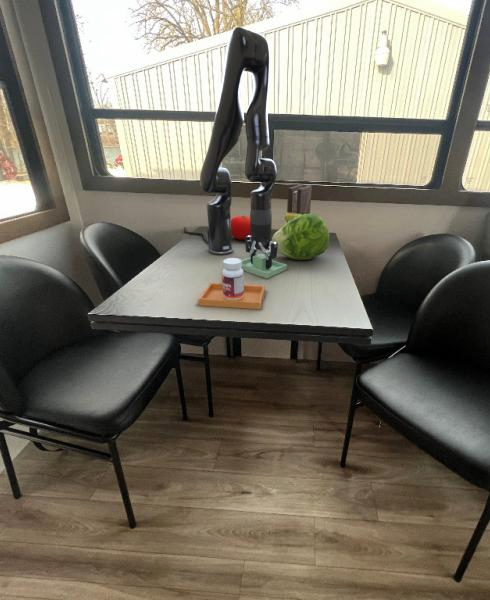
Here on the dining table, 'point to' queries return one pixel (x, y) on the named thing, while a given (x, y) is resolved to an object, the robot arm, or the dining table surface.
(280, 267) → the sage tray
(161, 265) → the dining table surface
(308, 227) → the lettuce
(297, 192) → the book
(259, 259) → the sage block
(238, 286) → the pill bottle
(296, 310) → the dining table surface
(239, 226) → the tomato
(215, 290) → the amber tray
